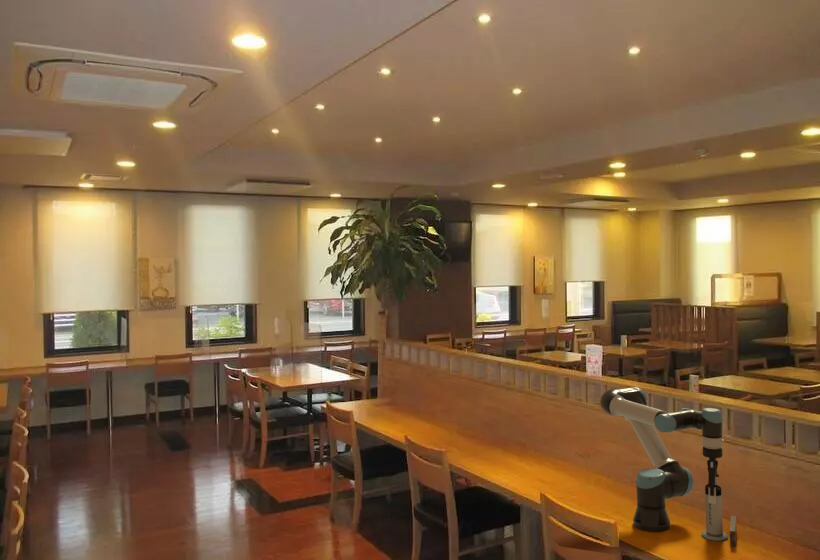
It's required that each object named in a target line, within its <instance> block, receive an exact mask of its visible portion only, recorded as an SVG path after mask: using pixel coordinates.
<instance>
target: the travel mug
mask: <svg viewBox="0 0 820 560" xmlns="http://www.w3.org/2000/svg"><path fill="white" fill-rule="evenodd" d="M707 485H708V483H707V484H705V485H704V491H705V492H704V499H705V500H704V502H705V506H704V507H705V530H706V533H707V534H708V535H709V536H713V537H721V536H722V535H723V532H724V530H723V529H724V527H723V526H724V525H723V497H722V496H723V493H722V487H721V486H720V485H718V484H717V485H715V486H716V504H712V503H709V498H708V487H707ZM712 485H714V484H712Z"/></svg>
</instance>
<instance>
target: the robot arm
mask: <svg viewBox="0 0 820 560" xmlns="http://www.w3.org/2000/svg"><path fill="white" fill-rule="evenodd" d="M599 401H600V402H599V403H600V407H601V409H602V410H603V412H604V413H606V414H607V415H610V416H612V417H613V416H614V417H617V418H618V417H623V419H624V420H625V421H628V422H629V423H630V424H631V427H632V428H633V430H634V432H635V434H636V436H637V437H638V440H639V441H640V443H641V445H642V446H643V448H644V450H645V452H646V454H647V455H648V458H649V460H650V461H651V463H652V464H653V466H654V467H652V468H644V469H641V470H639V471H638V473H637V474H636V481H635V485H636V508H635V511H634V515H633V518H632V519H633V526H634V527H635V526H636V527H635V528H637V529H639V530H641V531H645V530H646V532H652V531H655V532H654V533H656V532H658V533H660V532H666V531H669V529H671V519H670V517H669V514H668V512H667V509H666V500H668V499H669V500H670V499H672V498H676V497H684V496H685V495H687V494H689V493H691V491H692V490H693V487H694V478H693V474H692V473H691V471H690V469H688V468H686V467H685V466H681V464H680V463H679V460H676V459H673V457H672V455H671V454H670V452H669V451H668V449H667V446H666V445H665V444H664V441H663V439H662V438H661V436H660V435H659V433H658V431H659V432H660V433H672V432H675V431H676V432H677V431H681V430H687V429H688V430H689V429H697V430H700V431H702V432H701V434H702V436H701V439H702V441H701V444H702V456H703V457H705V458H708V459H707V462H706V464H707V465H706V466H707V473H708V474H707V475H708V476H707V477H708V483H707V484H708V485H707V484H706V485H707V487H708V498H709V503H712V504H716V486H715V485H718V478H720V475H719V474H718V466H719V460H717V459H721V458H722V457H723V448H722V447H723V442H725V440H724V439H723V415H722V414H723V413H722V411H721V410H720V409H719V408H713V407H706V408H705V407H704V408H703V409H702V410H701V411H700V410H696V409H693V408H686V407H683V408H680V409H679V410H678V411H674V412H673V411H672V412H669V411H666V410H663V409H659V408H655V407H651V406H648V398H647V395H646V393H645V392H644V390H643V389H641V388H640V387H638V386H626V387H620V388H611V389H608V390H606V391H604V392H603V394H602V395H601V396H600V400H599ZM656 429H657V430H658V431H657V430H656ZM712 484H714V485H712Z"/></svg>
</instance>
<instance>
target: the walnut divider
mask: <svg viewBox="0 0 820 560" xmlns="http://www.w3.org/2000/svg"><path fill="white" fill-rule="evenodd" d="M736 545H737V516H736V515H730V523H729V546H730V547H737V546H736Z"/></svg>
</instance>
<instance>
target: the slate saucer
mask: <svg viewBox="0 0 820 560" xmlns="http://www.w3.org/2000/svg"><path fill="white" fill-rule="evenodd" d="M700 533H701V534H700V535H701V537H702V538H704V539H706V540H708V541H713V542H724V541H726V540H728V539H729V535H728V534H727V533H726V532H724V531H723V535H722V536H721V537H713V536H709V535H708V534H707V533H706V529H705V530H702V531H701V532H700Z"/></svg>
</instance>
